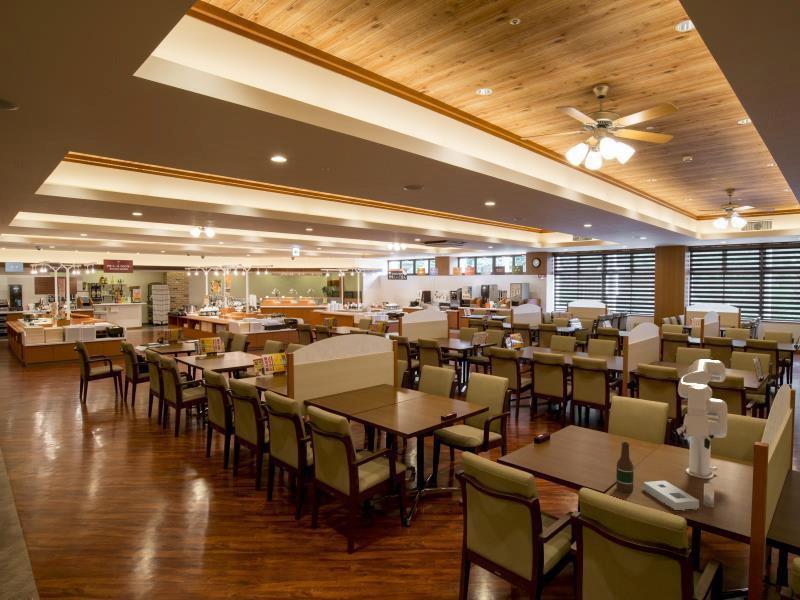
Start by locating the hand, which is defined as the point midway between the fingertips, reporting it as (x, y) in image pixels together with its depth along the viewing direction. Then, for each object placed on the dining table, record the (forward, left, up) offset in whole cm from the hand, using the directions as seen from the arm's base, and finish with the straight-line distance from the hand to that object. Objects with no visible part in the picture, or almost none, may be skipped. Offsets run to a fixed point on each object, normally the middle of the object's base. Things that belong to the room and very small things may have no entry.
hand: (695, 447), depth 224 cm
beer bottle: (+27, -14, -25) cm, 40 cm away
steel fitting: (-1, +8, -25) cm, 26 cm away
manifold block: (+12, -1, -25) cm, 28 cm away
